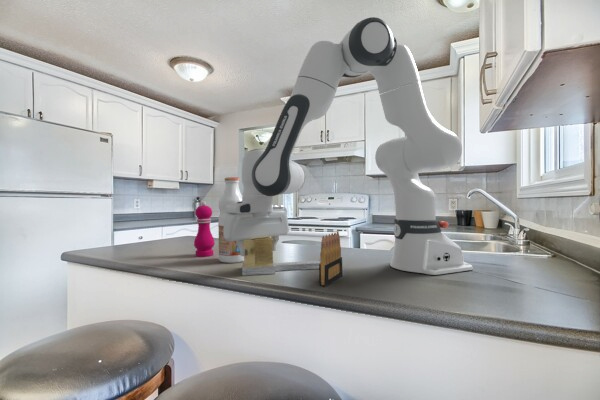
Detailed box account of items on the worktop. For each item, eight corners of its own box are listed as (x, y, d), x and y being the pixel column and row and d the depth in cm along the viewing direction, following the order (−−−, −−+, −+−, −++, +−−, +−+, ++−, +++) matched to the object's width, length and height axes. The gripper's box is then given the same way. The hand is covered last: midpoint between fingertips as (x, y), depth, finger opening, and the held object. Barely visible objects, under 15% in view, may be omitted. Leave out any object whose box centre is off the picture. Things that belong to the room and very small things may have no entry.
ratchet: (328, 263, 94) (327, 242, 94) (336, 270, 85) (336, 247, 85) (243, 267, 90) (242, 246, 90) (242, 275, 81) (241, 251, 81)
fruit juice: (224, 257, 106) (223, 178, 105) (250, 257, 105) (249, 178, 105) (214, 263, 96) (213, 177, 96) (243, 263, 96) (242, 176, 95)
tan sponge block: (261, 260, 90) (261, 235, 90) (272, 263, 86) (272, 237, 86) (244, 263, 87) (243, 237, 86) (254, 267, 82) (254, 240, 82)
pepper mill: (197, 258, 105) (196, 201, 104) (191, 255, 110) (190, 201, 110) (217, 255, 109) (216, 201, 109) (210, 252, 115) (209, 200, 114)
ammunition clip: (325, 286, 70) (325, 236, 70) (318, 285, 71) (318, 235, 71) (342, 275, 79) (342, 231, 79) (336, 275, 80) (335, 231, 80)
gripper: (280, 204, 95) (281, 247, 95) (220, 206, 82) (221, 256, 82) (292, 204, 90) (293, 250, 90) (230, 207, 77) (231, 260, 77)
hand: (258, 253), depth 86 cm, fingers open, 8 cm apart
